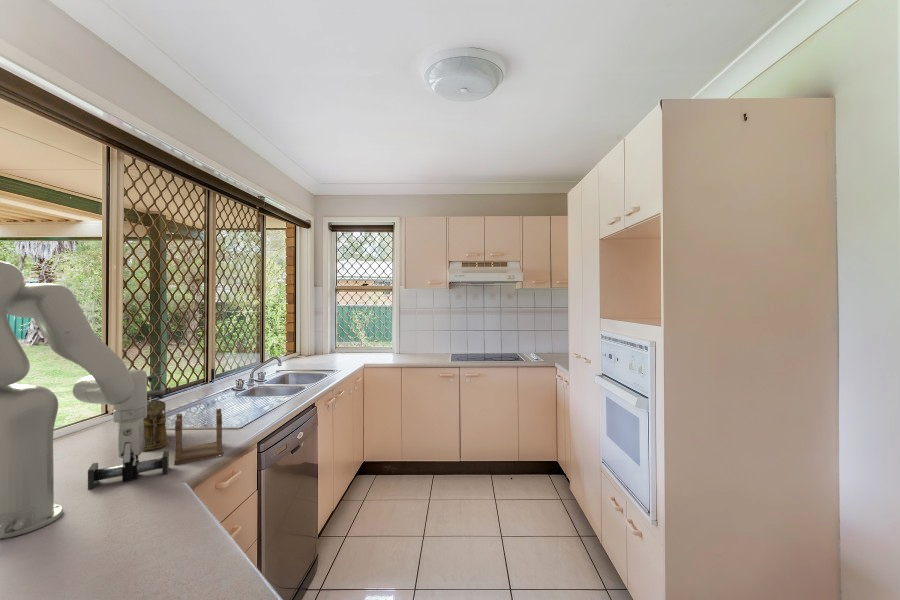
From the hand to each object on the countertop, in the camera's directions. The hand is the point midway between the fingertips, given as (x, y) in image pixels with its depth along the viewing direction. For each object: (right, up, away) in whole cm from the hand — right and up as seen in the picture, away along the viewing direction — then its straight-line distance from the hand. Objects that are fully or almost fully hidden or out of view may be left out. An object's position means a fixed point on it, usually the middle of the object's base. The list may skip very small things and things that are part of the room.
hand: (130, 477), depth 112 cm
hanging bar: (0, 0, 0) cm, 0 cm away
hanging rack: (+9, 0, +17) cm, 19 cm away
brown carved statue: (-10, 0, +22) cm, 24 cm away
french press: (-18, 0, +31) cm, 36 cm away
